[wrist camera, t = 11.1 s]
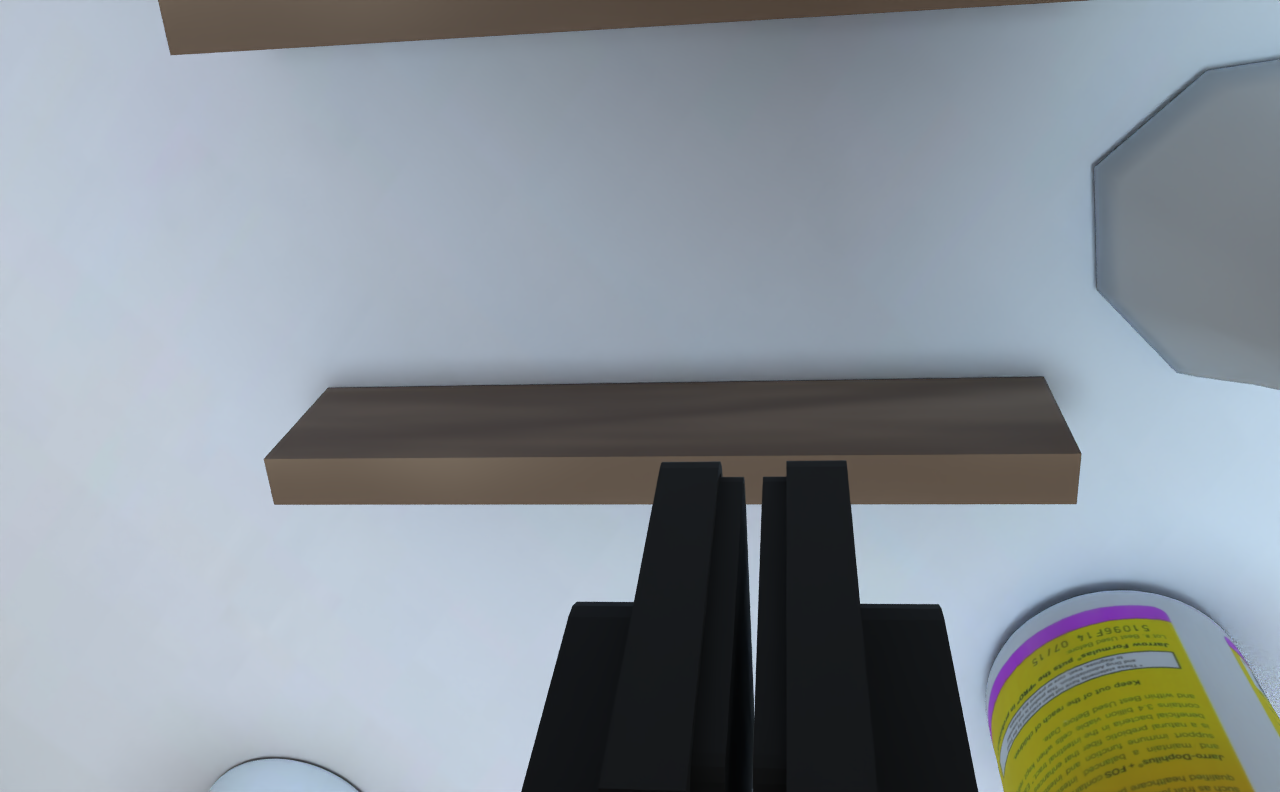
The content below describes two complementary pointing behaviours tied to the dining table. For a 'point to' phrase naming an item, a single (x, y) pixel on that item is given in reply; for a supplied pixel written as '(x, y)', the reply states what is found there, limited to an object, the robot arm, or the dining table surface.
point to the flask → (1200, 227)
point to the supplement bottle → (1129, 702)
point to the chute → (632, 412)
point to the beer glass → (280, 778)
